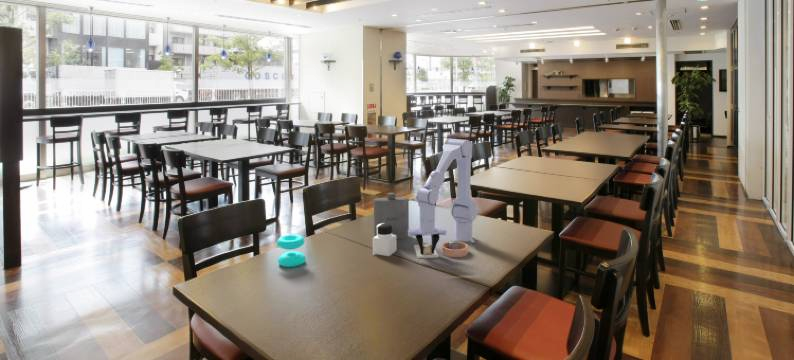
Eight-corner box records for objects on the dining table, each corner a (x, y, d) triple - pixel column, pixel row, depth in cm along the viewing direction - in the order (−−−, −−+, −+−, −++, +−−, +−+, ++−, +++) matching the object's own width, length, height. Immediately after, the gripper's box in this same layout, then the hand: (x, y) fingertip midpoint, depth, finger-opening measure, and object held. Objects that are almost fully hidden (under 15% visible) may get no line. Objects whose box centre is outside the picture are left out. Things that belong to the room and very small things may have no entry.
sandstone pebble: (421, 253, 179) (421, 244, 178) (431, 252, 179) (431, 244, 178) (423, 256, 175) (423, 247, 175) (432, 256, 176) (432, 247, 175)
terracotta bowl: (439, 250, 184) (439, 241, 183) (464, 249, 185) (464, 240, 184) (444, 259, 174) (444, 250, 174) (470, 258, 175) (470, 249, 174)
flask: (375, 241, 195) (374, 195, 191) (373, 237, 201) (372, 192, 196) (410, 239, 197) (409, 194, 193) (407, 235, 203) (407, 190, 199)
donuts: (300, 242, 165) (273, 242, 166) (302, 268, 167) (275, 268, 168) (307, 233, 175) (280, 233, 175) (308, 258, 177) (282, 258, 178)
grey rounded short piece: (448, 249, 183) (448, 240, 182) (457, 249, 184) (457, 240, 183) (450, 252, 180) (450, 243, 179) (459, 252, 180) (459, 243, 179)
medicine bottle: (396, 252, 183) (396, 222, 180) (389, 258, 176) (388, 228, 174) (380, 249, 186) (380, 220, 183) (372, 255, 179) (371, 225, 177)
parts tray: (414, 248, 186) (414, 245, 186) (433, 248, 186) (433, 244, 186) (417, 260, 174) (417, 256, 174) (438, 259, 175) (438, 255, 174)
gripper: (409, 222, 170) (409, 257, 173) (448, 221, 171) (447, 256, 174) (407, 217, 177) (407, 251, 179) (444, 216, 178) (444, 249, 181)
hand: (427, 253), depth 177 cm, fingers closed on sandstone pebble, 4 cm apart
